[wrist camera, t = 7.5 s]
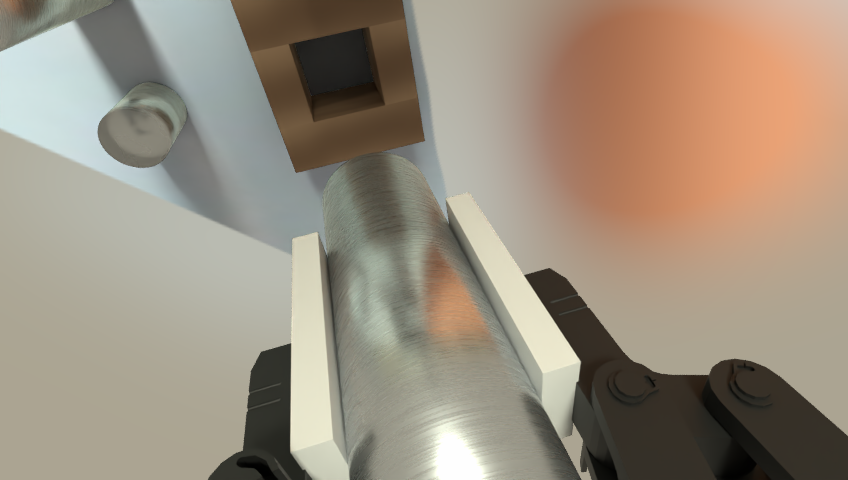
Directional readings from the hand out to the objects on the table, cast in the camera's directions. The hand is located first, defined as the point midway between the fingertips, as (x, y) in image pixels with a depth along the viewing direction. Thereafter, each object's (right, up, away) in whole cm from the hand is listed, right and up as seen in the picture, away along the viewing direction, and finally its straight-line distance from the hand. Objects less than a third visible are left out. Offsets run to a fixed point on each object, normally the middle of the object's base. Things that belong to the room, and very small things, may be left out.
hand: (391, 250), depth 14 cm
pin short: (-19, +10, +19) cm, 29 cm away
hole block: (-6, +15, +20) cm, 26 cm away
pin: (-1, +2, +2) cm, 3 cm away
